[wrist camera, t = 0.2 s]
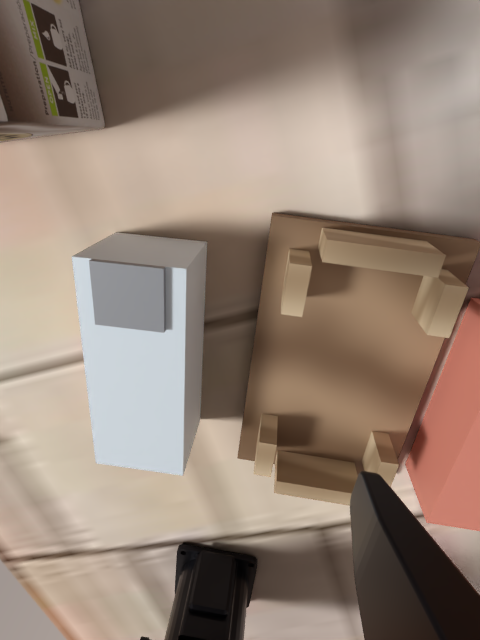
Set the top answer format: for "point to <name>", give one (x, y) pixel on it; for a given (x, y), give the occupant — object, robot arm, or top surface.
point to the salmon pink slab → (452, 435)
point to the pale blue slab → (142, 347)
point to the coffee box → (45, 71)
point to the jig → (345, 348)
